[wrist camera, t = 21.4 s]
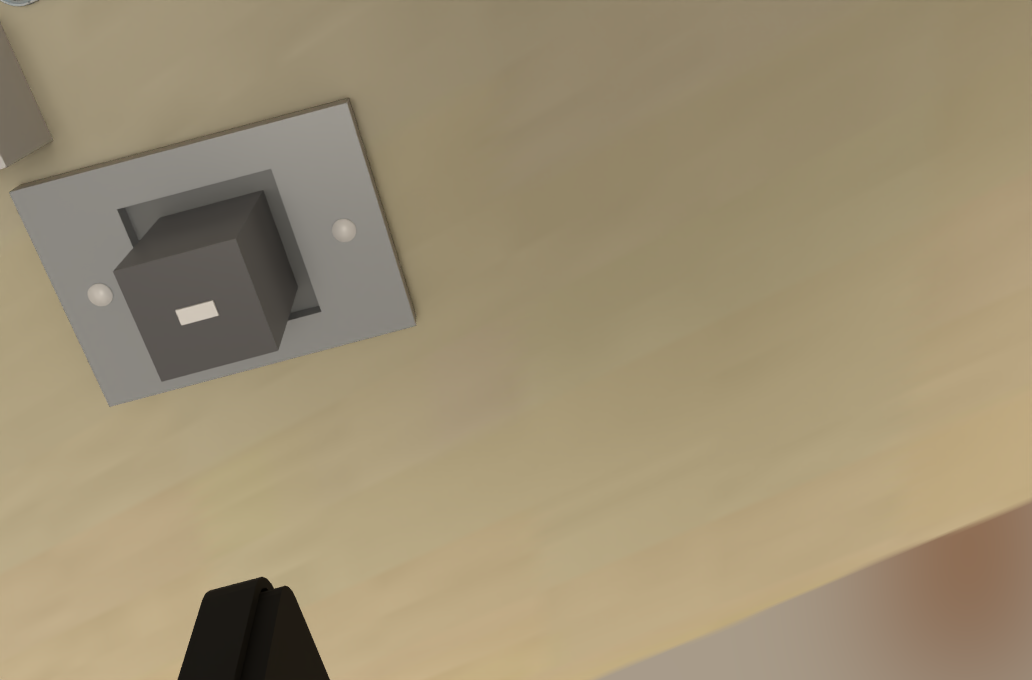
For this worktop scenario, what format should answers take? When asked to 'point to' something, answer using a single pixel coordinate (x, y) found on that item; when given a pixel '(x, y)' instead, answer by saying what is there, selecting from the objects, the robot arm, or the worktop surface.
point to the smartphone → (18, 2)
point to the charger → (209, 286)
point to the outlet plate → (209, 179)
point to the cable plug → (17, 110)
